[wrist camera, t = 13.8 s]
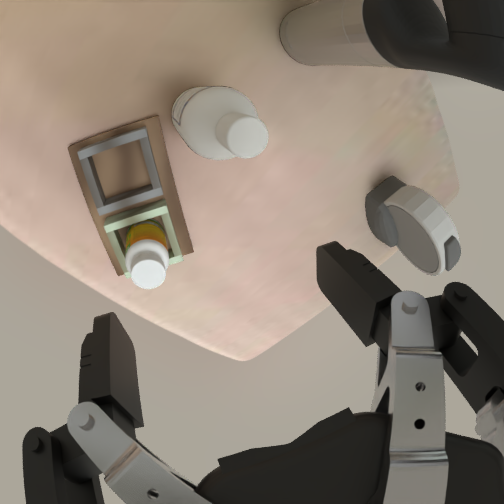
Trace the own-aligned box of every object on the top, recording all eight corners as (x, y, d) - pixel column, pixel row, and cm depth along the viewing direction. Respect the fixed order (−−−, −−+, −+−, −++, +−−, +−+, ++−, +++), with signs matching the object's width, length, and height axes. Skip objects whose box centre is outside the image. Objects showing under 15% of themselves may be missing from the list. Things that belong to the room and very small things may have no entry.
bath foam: (231, 127, 37) (305, 167, 21) (182, 147, 36) (216, 203, 20) (215, 79, 33) (283, 74, 17) (163, 98, 32) (179, 107, 16)
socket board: (158, 115, 33) (159, 117, 30) (192, 248, 44) (197, 261, 41) (69, 145, 30) (62, 151, 27) (118, 271, 42) (117, 286, 39)
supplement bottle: (124, 219, 37) (120, 257, 29) (163, 214, 39) (170, 251, 31) (129, 253, 40) (128, 297, 32) (166, 249, 41) (174, 291, 34)
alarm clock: (410, 223, 58) (471, 267, 44) (377, 250, 59) (436, 303, 44) (395, 162, 49) (473, 202, 34) (356, 192, 49) (432, 244, 34)
